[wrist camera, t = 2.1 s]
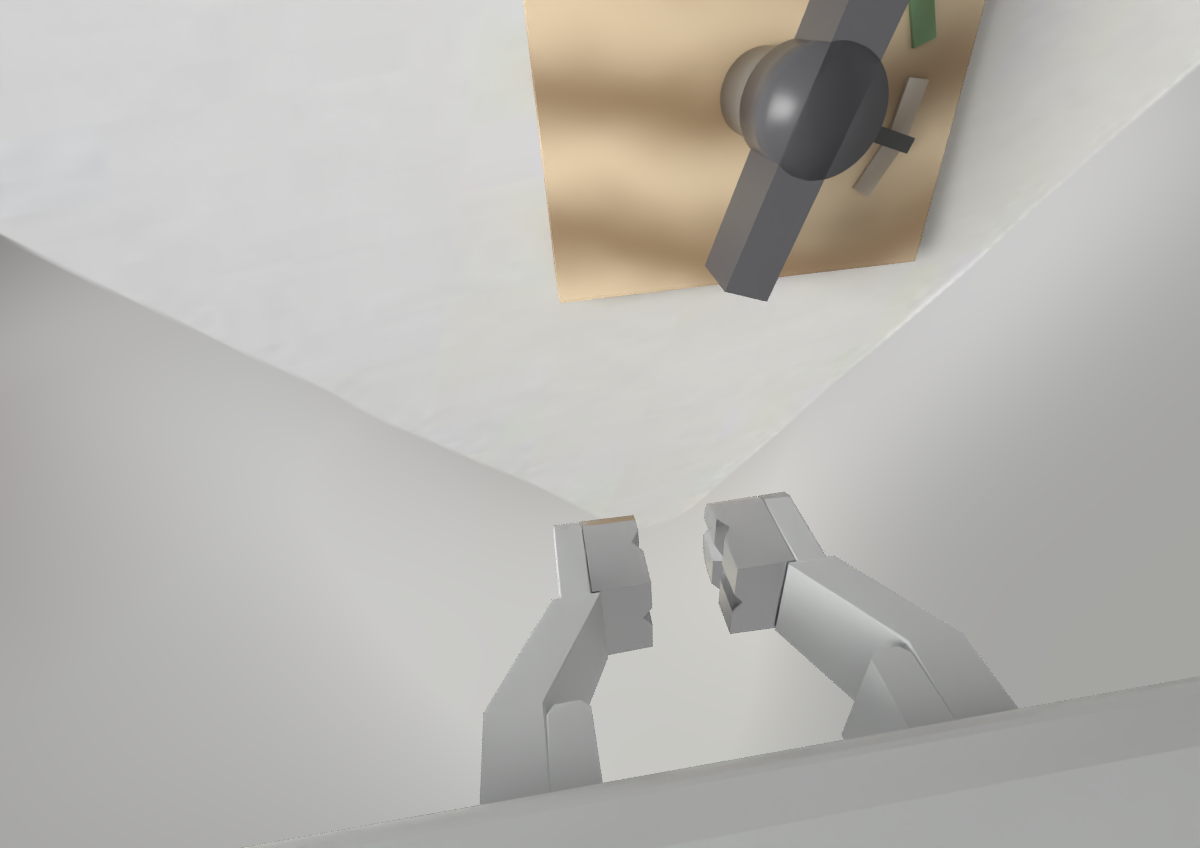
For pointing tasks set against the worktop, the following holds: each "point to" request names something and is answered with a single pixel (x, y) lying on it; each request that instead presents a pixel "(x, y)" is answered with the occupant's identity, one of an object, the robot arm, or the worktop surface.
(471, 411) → the worktop surface
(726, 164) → the tuner board
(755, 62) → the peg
